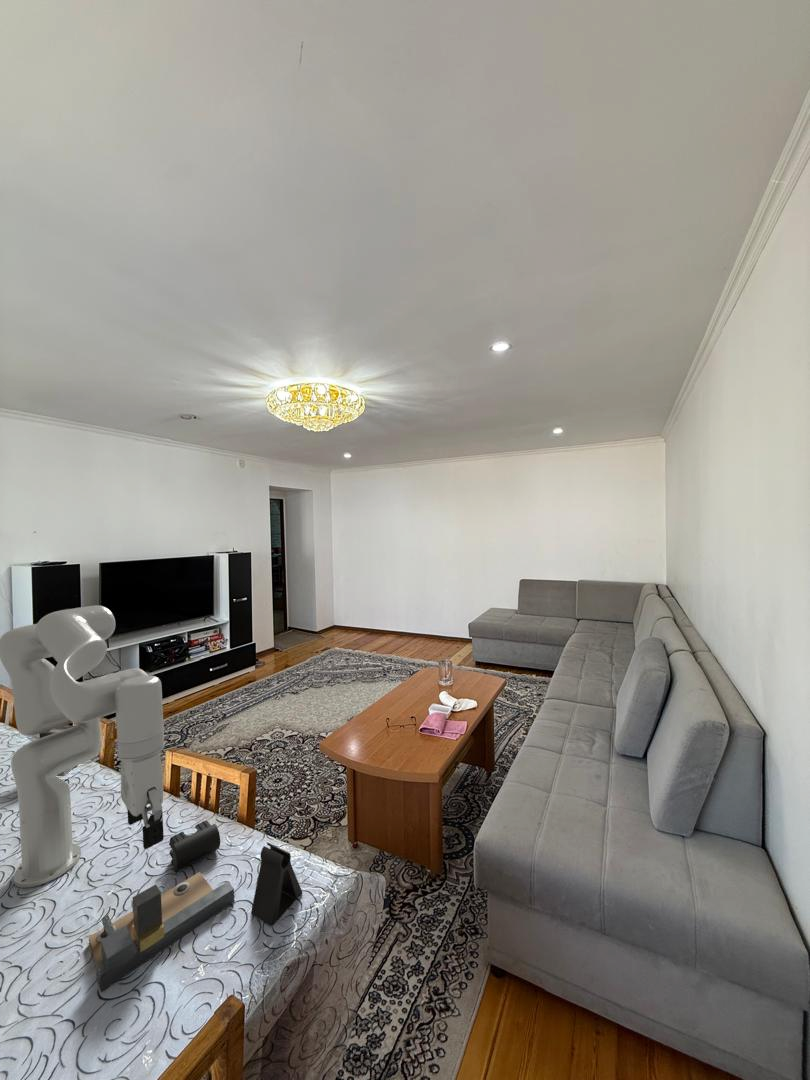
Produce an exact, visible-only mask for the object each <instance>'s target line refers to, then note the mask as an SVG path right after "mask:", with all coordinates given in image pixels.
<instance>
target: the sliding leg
mask: <svg viewBox="0 0 810 1080" xmlns="http://www.w3.org/2000/svg"><path fill="white" fill-rule="evenodd" d="M161 892H162V891H160V889H159V887H158V885H157V884H154V885H151V886H150V887H148V888H147V889H145V890H143V891H141V892H139V893H138V894H136V895H134V896H133V897H132V898H131V899H132V900H131V908H132V911H133V920H134V924H133V925H132V927H133V937H134V939H135V941H136V943H137V946H138V948H139V950H140V952H142V951H144V950H145V949H147V948H148V947H150V946H151V945H153V944H154V943H156V942H157V941H159V940H160V939H162V938H163V937H164V926H163V924H162V906H161V894H162V893H161Z"/></svg>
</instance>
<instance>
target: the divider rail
mask: <svg viewBox="0 0 810 1080" xmlns="http://www.w3.org/2000/svg"><path fill="white" fill-rule="evenodd" d="M234 903H235V888H234V887H233V886H232V884H231V883H230V881H226V882H224V883H223V884H221V885H219V886H218V887H216V888H215V889H213V891H211V892H210V893H208V894H207V895H205V896H204V897H202V898H200V899H199V900H197V901H196V902H194V903H192V904H191V905H189V906H188V907H186V908H185V909H183V910H181V911H180V912H178V913H177V914H175V915H173V916H172V917H170V918H169V919H167V920H165V921H164V922H162V924H163V926H164V937H163V938H162V939H160V940H159V941H157V942H156V943H154V944H153V945H151V946H150V947H148V948H147V949H145V950H144V951H142V952H140V950H139V948H138V946H137V943H136V941H135V940H134V941H133V939H132V937H131V935H130V933H129V930H128V928H127V926H124V927H122V928H121V929H119V930H117V931H116V932H115V930H114V928H113V926H112V923H113V922H112V920H111V918H110V916H109V914H106V915H105V916H103V917H102V918H101V923H102V926H103V928H104V933H106V934H107V937H106V938H104V939H102V940H101V956H102V959H103V960H102V961H101V962H99V963H97V964H95V967H96V970H95V971H96V982H97V985H98V988H99V992H100V993H102V992H104V991H105V990H107V989H108V988H110V987H111V986H112V985H115V983H118V982H119V981H120V980H121V979H123V978H124V977H126V976H128V975H129V974H131V973H132V972H133V971H135V970H136V969H138V968H139V967H141V966H142V965H144V964H145V963H147V962H148V961H150V960H151V959H153V958H154V957H156V956H157V955H159V954H160V953H162V952H163V951H165V950H166V949H167V948H169V947H171V946H172V945H174V944H175V943H176V942H178V941H179V940H181V939H183V938H184V937H185V936H187V935H188V934H190V933H191V932H193V931H194V930H195V929H197V928H198V927H200V926H202V925H203V924H204V923H206V922H207V921H209V920H211V919H212V918H213V917H215V916H217V915H218V914H219V913H221V912H223V911H224V910H225V909H227V908H228V907H230V906H232V905H233V904H234Z"/></svg>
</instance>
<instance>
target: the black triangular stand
mask: <svg viewBox="0 0 810 1080" xmlns="http://www.w3.org/2000/svg"><path fill="white" fill-rule="evenodd" d="M267 846H269V847H267ZM267 846H265V845H264V846H262V849H261V851H260V867H259V871H258V875H257V876H258V877H257V882H256V888H255V891H254V896H253V901H252V907H251V911H250V914H251V915H252V916H254V917H255V918H256V919H258V920H260V921H262V922H263V923H265V924H266V925H268V926H270V927H271V928H272V927H273V926H274V925H275V924H276V923H277V922H278V921H279V920H280V919H281V917H283V915H284V914H286V912H287V911H288V910H289V909H290V908H291V907H292V906H293V905H294V904H295V903H296V901H298V900H299V898H300V897H301V896H302V895H303V890H302V887H301V885H300V884H299V883H300V882H299V880H298V877H297V875H296V873H295V871H294V868H293V866H292V863H291V861H292V860H291V859H292V855H291V853H290V852H289V851H286V850H284V848H283V849H282V848H280V847H278V846H276V845H274V844H272V843H270V842H268V843H267Z"/></svg>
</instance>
